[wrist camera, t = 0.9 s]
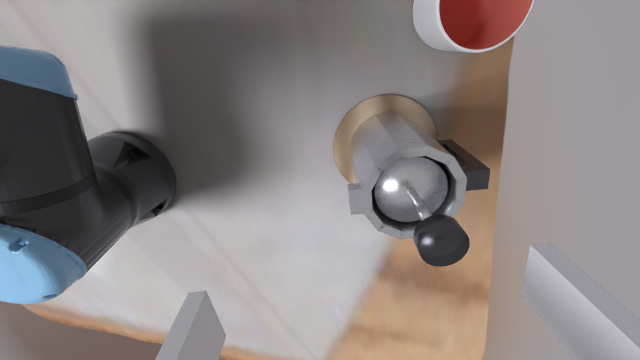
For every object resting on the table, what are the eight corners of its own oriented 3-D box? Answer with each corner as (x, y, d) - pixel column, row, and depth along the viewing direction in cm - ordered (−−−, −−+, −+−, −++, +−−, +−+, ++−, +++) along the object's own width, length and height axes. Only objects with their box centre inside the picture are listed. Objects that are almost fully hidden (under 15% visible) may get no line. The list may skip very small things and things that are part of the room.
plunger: (375, 221, 36) (395, 288, 26) (372, 159, 33) (393, 210, 23) (443, 214, 35) (489, 280, 26) (446, 150, 32) (501, 198, 22)
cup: (490, 35, 41) (538, 34, 32) (417, 60, 42) (443, 65, 33) (484, -51, 37) (537, -81, 28) (403, -21, 38) (429, -40, 29)
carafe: (344, 184, 49) (353, 243, 35) (337, 118, 45) (345, 155, 30) (441, 173, 49) (492, 229, 34) (444, 105, 44) (505, 137, 29)
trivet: (338, 196, 51) (339, 198, 51) (328, 101, 44) (328, 102, 44) (433, 186, 50) (435, 187, 50) (437, 88, 44) (439, 88, 43)
